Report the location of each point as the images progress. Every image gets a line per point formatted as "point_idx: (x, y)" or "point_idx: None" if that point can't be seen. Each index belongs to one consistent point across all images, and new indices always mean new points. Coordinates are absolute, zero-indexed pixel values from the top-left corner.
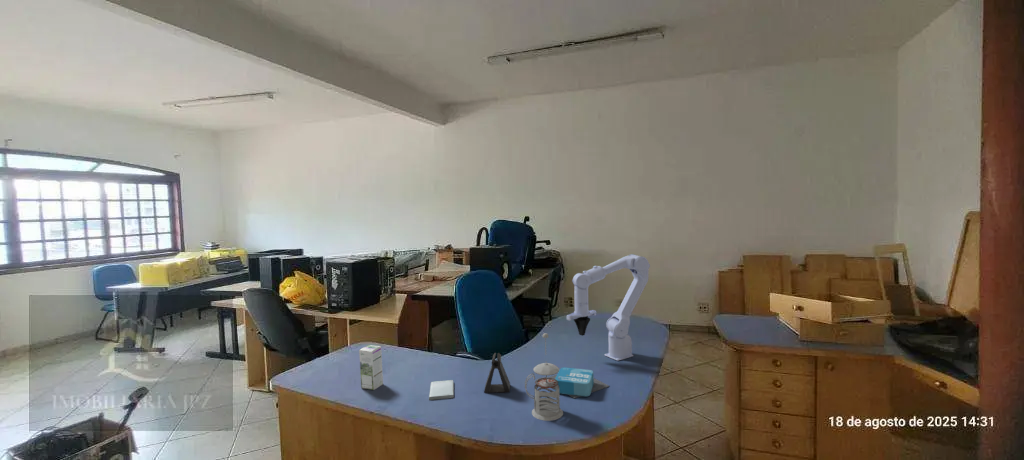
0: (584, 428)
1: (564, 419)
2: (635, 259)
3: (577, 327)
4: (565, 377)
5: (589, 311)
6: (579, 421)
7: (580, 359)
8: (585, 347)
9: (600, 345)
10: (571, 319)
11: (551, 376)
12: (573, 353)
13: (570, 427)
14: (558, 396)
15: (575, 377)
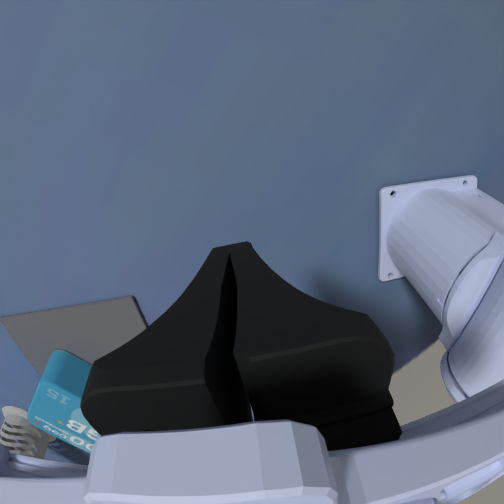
0: (88, 465)
1: (58, 446)
2: None
3: (186, 292)
4: (54, 426)
5: (486, 480)
6: (83, 457)
7: (217, 179)
8: (365, 14)
9: (454, 47)
10: (37, 471)
11: (25, 315)
12: (229, 65)
13: (67, 457)
14: (41, 454)
15: (82, 437)
